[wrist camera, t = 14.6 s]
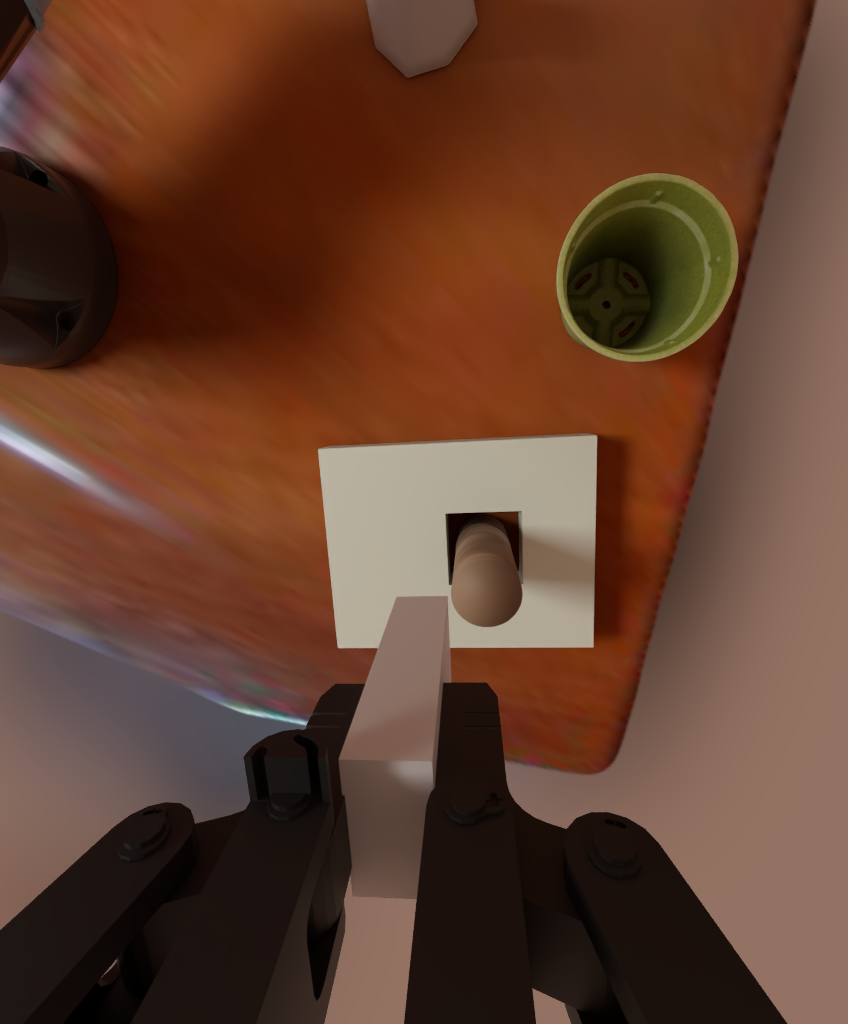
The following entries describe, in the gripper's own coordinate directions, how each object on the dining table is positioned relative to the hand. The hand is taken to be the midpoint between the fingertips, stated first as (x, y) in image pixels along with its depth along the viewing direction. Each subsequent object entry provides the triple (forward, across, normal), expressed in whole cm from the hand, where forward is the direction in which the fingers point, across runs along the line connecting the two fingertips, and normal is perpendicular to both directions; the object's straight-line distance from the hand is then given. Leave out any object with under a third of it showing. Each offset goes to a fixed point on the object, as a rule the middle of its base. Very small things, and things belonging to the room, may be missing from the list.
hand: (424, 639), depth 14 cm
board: (+25, 0, -4) cm, 25 cm away
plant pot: (+25, +11, +13) cm, 30 cm away
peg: (+25, +2, -4) cm, 25 cm away
